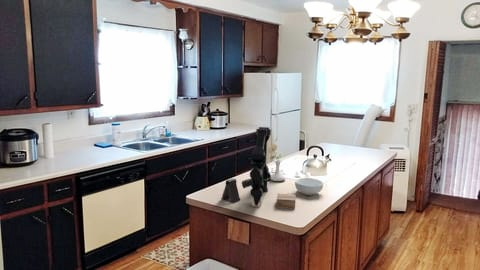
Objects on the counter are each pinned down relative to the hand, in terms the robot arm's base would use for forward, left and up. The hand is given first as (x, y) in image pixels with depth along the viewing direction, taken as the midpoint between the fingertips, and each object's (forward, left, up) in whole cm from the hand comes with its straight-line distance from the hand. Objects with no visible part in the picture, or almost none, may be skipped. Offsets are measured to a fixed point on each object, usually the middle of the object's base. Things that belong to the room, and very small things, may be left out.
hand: (256, 202), depth 205 cm
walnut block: (-2, +16, -1) cm, 16 cm away
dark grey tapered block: (-5, -15, -1) cm, 16 cm away
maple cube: (0, 0, -1) cm, 1 cm away
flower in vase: (-50, +10, -1) cm, 51 cm away
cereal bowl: (-26, +30, -1) cm, 40 cm away
